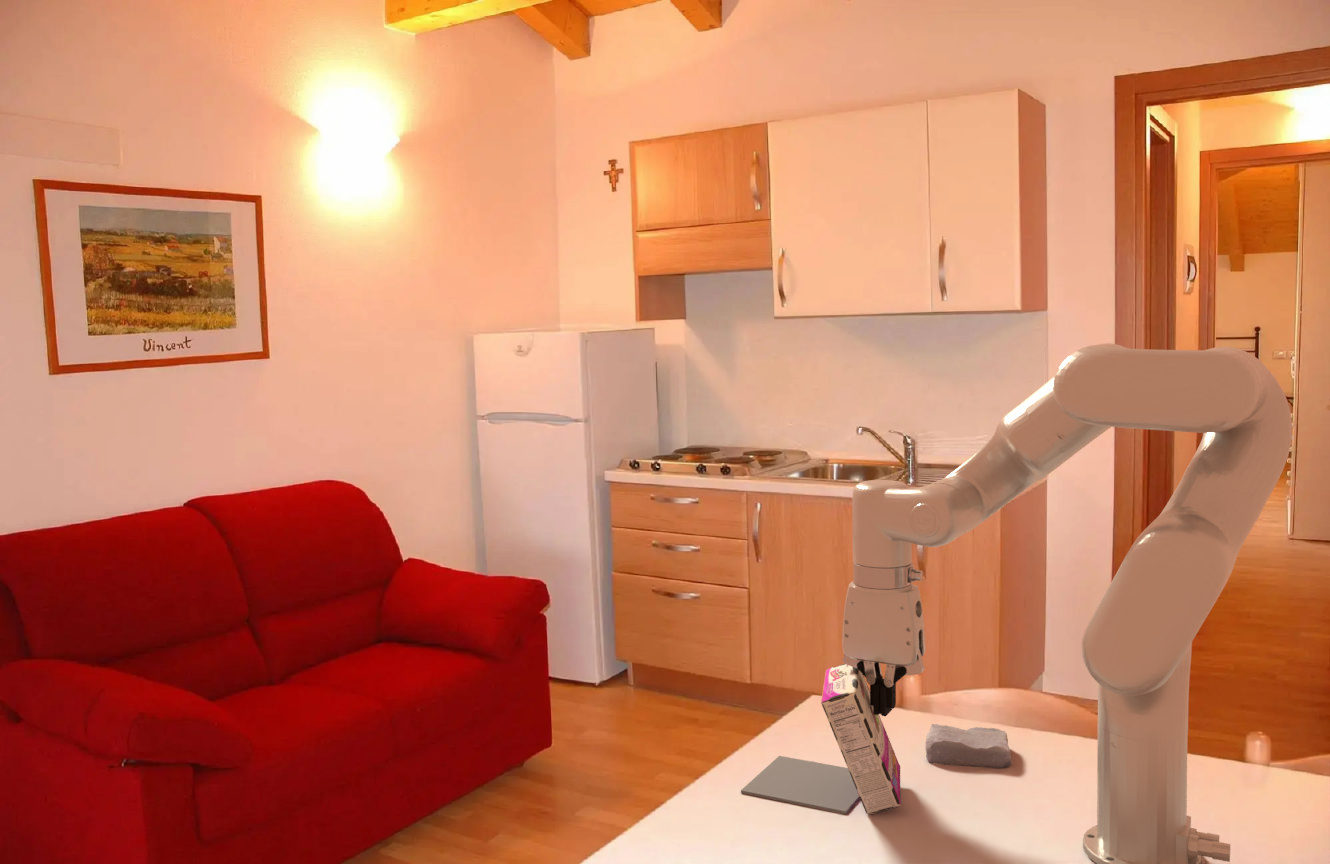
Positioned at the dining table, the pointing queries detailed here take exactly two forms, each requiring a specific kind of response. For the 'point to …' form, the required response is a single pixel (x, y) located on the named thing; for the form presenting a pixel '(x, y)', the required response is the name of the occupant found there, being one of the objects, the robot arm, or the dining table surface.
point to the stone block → (968, 747)
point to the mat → (805, 784)
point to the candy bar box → (861, 738)
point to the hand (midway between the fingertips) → (883, 711)
